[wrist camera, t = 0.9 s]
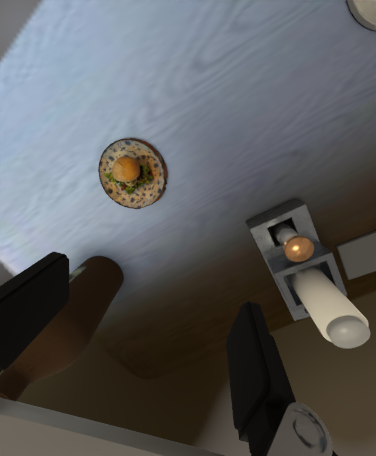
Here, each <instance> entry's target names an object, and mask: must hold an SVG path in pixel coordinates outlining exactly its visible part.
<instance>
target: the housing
mask: <svg viewBox="0 0 376 456" xmlns="http://www.w3.org/2000/svg"><path fill="white" fill-rule="evenodd" d="M284 220H287V222H288V225H289V226H290V227H291V228H292V229H293V230H294V231H295V232H296V233H298V234H299V235H302V236H305V237H306V238H308V239H309V240H310V241H311V242H312V243H313V245H314V251H313V254H312V255H311V256H310V257H309V258H308V259H306V260H304V261H301V262H294V261H291V260H290V259H288V258H287V256H286V255H285V254H284V252H283V246H282V245H281V244H280V242H279V241H278V240H277V239H276V237H275V236H270V234H269V231H268V229H267V228H268V227H270V226H273V225H275V224H277V223H279V222H282V221H284ZM246 223H247V225H248V227H249V229H250V231H251V234H252V236H253V238H254V240H255V242H256V244H257V246H258V248H259V250H260V252H261V254H262V256H263V258H264V260H265V262H266V264H267V266H268V268H269V270H270V272H271V274H272V276H273V278H274V280H275V282H276V284H277V286H278V289H279V291H280V293H281V295H282V297H283V299H284V301H285V303H286V305H287V307H288V309H289V311H290V313H291V315H292V317H293V319H294V320H295V321H296V320H299V319H302V318H306V317H309V316H310V314H309V312H308V311H307V309H306V308H305V306H304V304H303V303H302V301H301V300H300V298H299V296H298V295H297V293H296V292H295V290H294V288H293V287H292V285H291V284H290V282H289V280H288V279H287V277H286V275H289V274H291V273H294V272H297V271H299V270H302V269H305V268H308V267H310V266H313V265H316V266H317V267H318V268H319V269H320V270H321V271H322V272H323V273H324V275H325V276H326V277H327V278H328V279H329V280H330V281H331V282H332V283H333V284H334V285H335V286H336V287H337V288H338V289H339V290H340V291H341V293H342V294H343V295H344V296H346V295H347V293H346V290H345V288H344V285H343V282H342V279H341V276H340V274H339V271H338V268H337V265H336V262H335V260H334V257H333V254H332V252H331V251H330V250H328V249H327V248H326V247H325V246H323V245H322V244H321V243H320V241H319V239H318V236H317V233H316V231H315V228H314V225H313V223H312V220H311V217H310V215H309V212H308V209H307V207H306V204H304V203H302V202H300V201H299V200H297V199H295V198H294V199H292V200H290V201H288V202H286V203H284V204H282V205H279V206H277V207H275V208H273V209H271V210H269V211H266V212H264V213H262V214H260V215H258V216H256V217H254V218H251V219H249V220H247V221H246Z"/></svg>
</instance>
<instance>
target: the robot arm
mask: <svg viewBox="0 0 376 456" xmlns="http://www.w3.org/2000/svg"><path fill="white" fill-rule="evenodd" d="M347 2H348V5H349V8H350V10H351V13H352V14H353V15H354V17H355V18H356V20H357V21H358V22H360V23H361V24H362V25H363V26H365V27H367V28H369V29H372V30H376V0H347ZM69 297H70V296H69V259H68V258H67V256H66V255H65V254H61V253H57V252H52V253H50V254H48V255H47V256H45V257H44V258H42V259H41V260H39V261H38V262H36V263H35V264H33V265H32V266H30V267H29V268H27V269H26V270H24V271H23V272H21V273H20V274H18V275H17V276H15V277H14V278H12V279H10V280H9V281H7V282H6V283H4V284H3V285H1V286H0V372H1V371H2V370H5V369H7V368H8V367H9V366H10V365H11V364H12V363H13V362H14V361H15V360H16V359H17V358H18V356H19V355H20V354H21V353H22V352H23V351H24V350H25V349H26V348H27V347H28V346H29V344H30V343H31V342H32V341H33V340H34V339H35V338H36V337H37V336H38V335H39V333H40V332H41V331H42V330H43V329H44V328H45V327H46V326H47V325H48V324H49V323H50V321H51V320H52V319H53V318H54V317H55V316H56V315H57V314H58V313H59V312H60V311H61V309H62V308H63V307H64V306H65V305H66V304H67V302H68V300H69ZM226 347H227V357H228V367H229V378H230V387H231V388H230V389H231V399H232V409H233V420H234V426H235V428H236V429H238V433H239V440H241V441H246V442H249V449H250V453H251V454H252V455H251V456H338V455H337V454H336V453H335V452H334V451H333V450H332V442H331V438H330V435H329V433H328V431H327V429H326V427H325V425H324V424H323V422H322V421H321V419H320V418H319V417H318V416H317V415H316V414H315V413H314V412H313V411H312V410H311V409H310V408H308V407H307V406H305V405H303V404H301V403H297V402H296V401H295V397H294V395H293V392H292V389H291V386H290V383H289V380H288V377H287V375H286V372H285V369H284V366H283V363H282V360H281V357H280V355H279V352H278V349H277V346H276V343H275V340H274V338H273V337H272V336H271V335H270V334H269V331H268V328H267V325H266V322H265V319H264V316H263V313H262V310H261V307H260V305H259V304H257V303H253V302H249V301H247V302H246V303H243V304H242V306H241V308H240V311H239V313H238V315H237V317H236V319H235V322H234V324H233V326H232V328H231V330H230V333H229V335H228V337H227V341H226ZM0 456H224V455H221V454H217V453H214V452H210V451H207V450H203V449H200V448H196V447H192V446H189V445H185V444H181V443H177V442H173V441H169V440H165V439H161V438H158V437H154V436H150V435H146V434H142V433H138V432H135V431H131V430H127V429H123V428H119V427H115V426H111V425H107V424H103V423H99V422H95V421H92V420H88V419H84V418H80V417H76V416H72V415H68V414H64V413H60V412H56V411H52V410H48V409H44V408H40V407H36V406H32V405H27V404H23V403H20V402H16V401H12V400H8V399H3V398H0Z"/></svg>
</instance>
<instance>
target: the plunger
mask: <svg viewBox="0 0 376 456" xmlns="http://www.w3.org/2000/svg"><path fill="white" fill-rule="evenodd" d="M271 232H272V233H273V235H274V236H275V237H276V239H277V240H278V241H279V242H280V244H281V245H282V246H283V252H284V254H285V255H286V256H287V258H288V259H290V260H291V261H294V262H301V261H304V260H306V259H308V258H309V257H310V256H311V255H312V254H313V251H314V245H313V243H312V242H311V241H310V240H309V239H308V238H306V237H305V236H302V235H299V234H298V233H296V232H295V231H294V230H293V229H292V228H291V227H290V226H289V225H288V224H287V223H286V222H284V221H282V222H279V223H277V224H275V225H273V226H271Z"/></svg>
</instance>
